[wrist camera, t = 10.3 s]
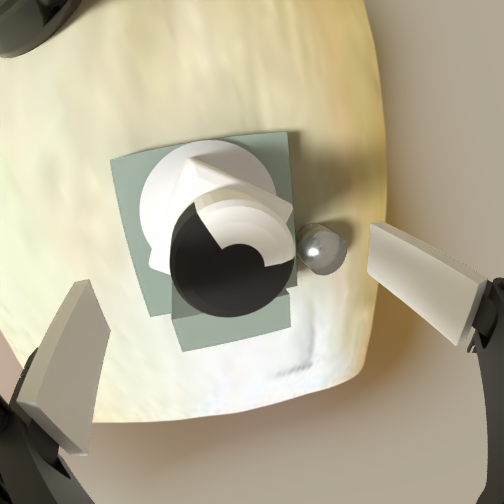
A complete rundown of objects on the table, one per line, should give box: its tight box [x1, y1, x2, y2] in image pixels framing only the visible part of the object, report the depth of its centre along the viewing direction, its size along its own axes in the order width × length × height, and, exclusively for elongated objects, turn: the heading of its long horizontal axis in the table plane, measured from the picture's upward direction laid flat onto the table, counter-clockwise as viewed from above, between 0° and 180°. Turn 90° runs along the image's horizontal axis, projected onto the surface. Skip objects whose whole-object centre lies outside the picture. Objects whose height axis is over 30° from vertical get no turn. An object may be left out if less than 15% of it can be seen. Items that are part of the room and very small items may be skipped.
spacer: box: [295, 224, 347, 275], centre depth 32 cm, size 5×5×4 cm
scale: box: [110, 132, 297, 352], centre depth 25 cm, size 18×17×10 cm
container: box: [149, 157, 295, 318], centre depth 19 cm, size 8×8×13 cm
